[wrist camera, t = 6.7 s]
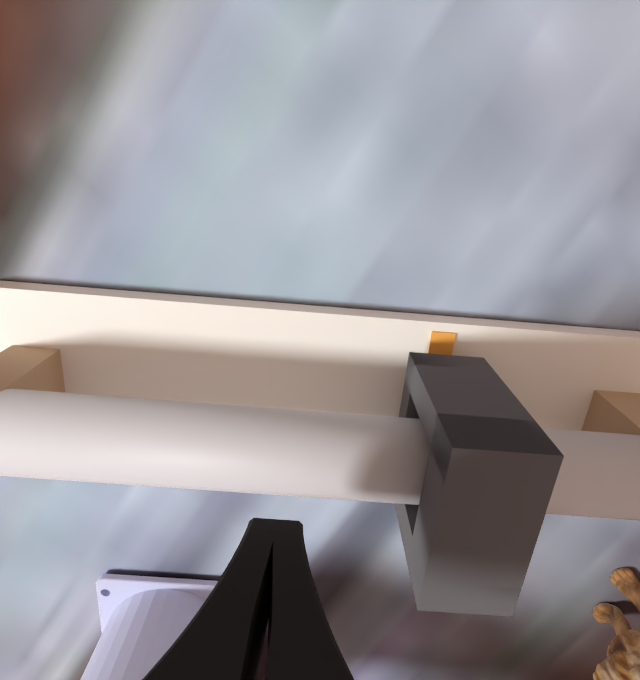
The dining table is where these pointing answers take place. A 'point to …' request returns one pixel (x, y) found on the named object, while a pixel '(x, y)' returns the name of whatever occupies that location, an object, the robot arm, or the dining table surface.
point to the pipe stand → (290, 395)
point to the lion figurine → (620, 632)
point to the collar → (473, 487)
